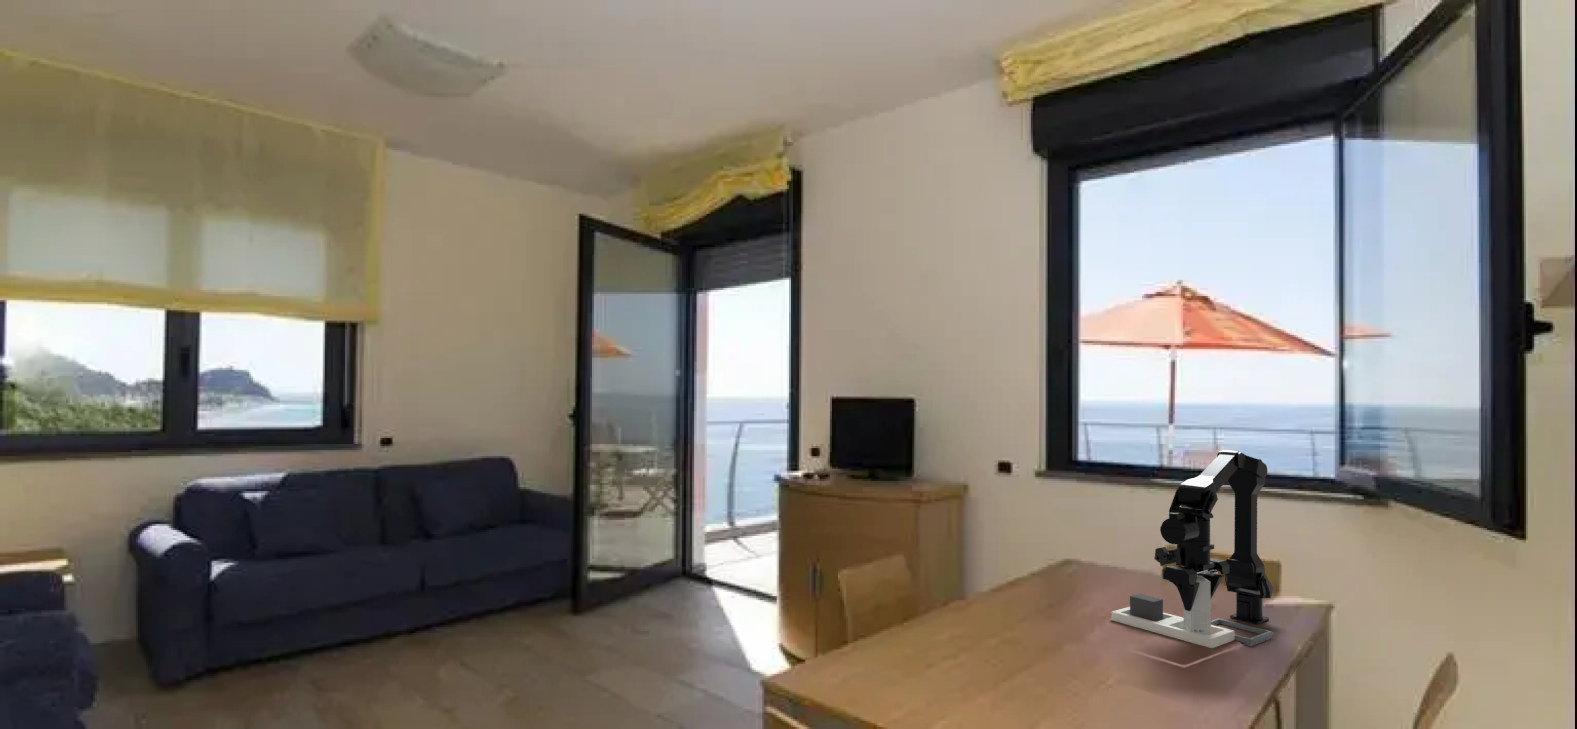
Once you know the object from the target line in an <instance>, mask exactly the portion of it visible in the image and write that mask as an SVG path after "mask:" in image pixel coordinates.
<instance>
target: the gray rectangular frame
mask: <svg viewBox="0 0 1577 729" xmlns="http://www.w3.org/2000/svg"><path fill="white" fill-rule="evenodd" d="M1211 625H1214V626H1218V625H1224V626H1228V627H1231V628H1235V629H1240V630H1244V631H1247V632H1252V633H1255V634H1257V635H1254V636H1252V637H1246V636H1243V635H1242V636H1241V635H1238V634H1235V640H1234V641H1236V642H1237V641H1238V642H1241V644H1242V645H1244V646H1248V647H1253V646H1255V645H1258V644H1261V643H1263V642H1266V641H1268V640H1271V639H1273V631H1272V630H1269V629H1263V628H1259V627H1255V626H1250V625H1247V624H1243V623H1239V622H1235V621H1231V620H1227V619H1222V618H1219V617H1217V618H1215V619H1212V620H1211ZM1270 638H1271V639H1270ZM1265 640H1266V641H1265Z"/></svg>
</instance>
